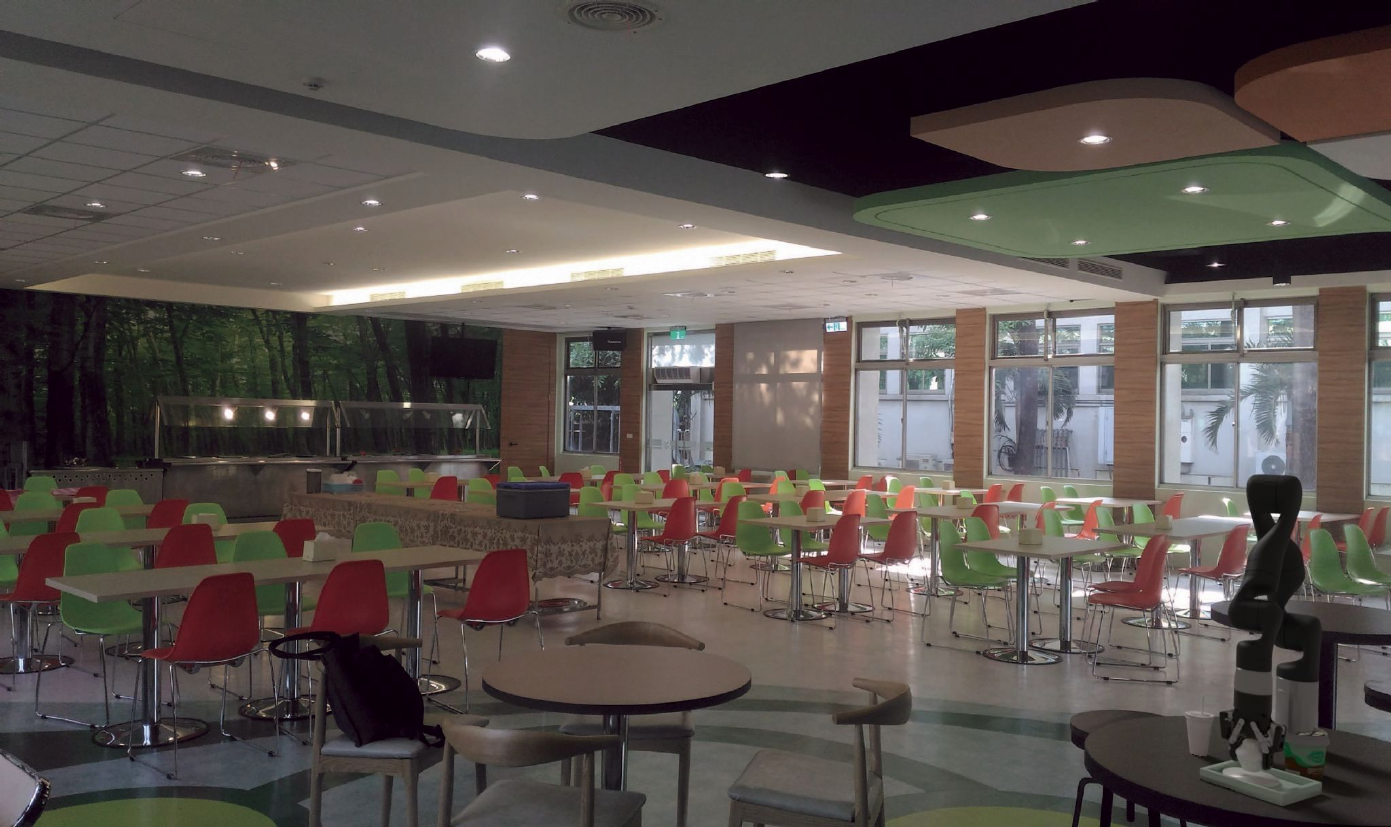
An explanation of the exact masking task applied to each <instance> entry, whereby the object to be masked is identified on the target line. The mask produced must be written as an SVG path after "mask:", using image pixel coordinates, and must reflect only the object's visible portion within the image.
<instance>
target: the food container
mask: <svg viewBox="0 0 1391 827" xmlns="http://www.w3.org/2000/svg"><path fill="white" fill-rule="evenodd" d="M1330 744H1331V741H1330V737H1329V735H1328V732H1326V731H1325V730H1323V729H1321V728H1319V727H1318V728H1315V727H1314V728H1313V731H1311V732H1298V733H1295V734H1290V733H1286V736H1285V743H1284V749H1283V751H1284V771H1285V772H1288V773H1291V774H1295V775H1298V776H1302V777H1305V778H1308V779H1312V780H1315V781H1321V780H1322V779H1323V778H1324V770H1325V763H1326V754H1327V747H1329V746H1330Z"/></svg>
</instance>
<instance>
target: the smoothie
mask: <svg viewBox="0 0 1391 827" xmlns="http://www.w3.org/2000/svg"><path fill="white" fill-rule="evenodd" d="M1200 698H1201V699H1200V710H1186V711H1185V714H1184V717H1185V718H1186V728H1187V736H1188V745H1189V747H1188V748H1189V754H1190V753H1191V755H1192V754H1194V755H1193V756H1195V755H1199V756H1198V757H1201V756H1205V757H1207V756H1208V752H1209V746H1210V739H1211V734H1212V733H1211V732H1212V727H1213V722H1214V721H1215V715H1214V714H1212V713H1209V712H1206V711H1204V710H1205V709H1204V705H1205V703H1204V701H1205V700H1204V699H1205V696H1204V695H1201V697H1200Z"/></svg>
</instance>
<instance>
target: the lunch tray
mask: <svg viewBox="0 0 1391 827" xmlns="http://www.w3.org/2000/svg"><path fill="white" fill-rule="evenodd" d="M1199 778H1201V779H1202V780H1206V781H1208V782H1207V783H1209V782H1212V783H1214V784H1213V785H1215V784H1218V785H1220V786H1219V787H1221V786H1224V787H1226V788H1225V789H1227V788H1230V789H1231V791H1233V790H1235V791H1234V792H1236V793H1240V794H1243V795H1246V796H1249V797H1252V798H1256V799H1259V800H1262V801H1265V802H1268V803H1271V804H1274V805H1277V806H1281V807H1284V806H1288V805H1291V804H1295V803H1297V802H1301V801H1304V800H1307V799H1310V798H1313V797H1317V796H1320V795H1322V791H1323V790H1322V788H1323V787H1322V786H1323V783H1322V781H1320V780H1312V779H1308V778H1305V777H1302V776H1298V775H1295V774H1291V773H1288V772H1285V770H1282V769H1281V770H1280V769H1277V768H1273V767H1272V768H1271V769H1270V770H1267V771H1266V770H1263V769H1262V768H1261V770H1260V771H1259V772H1248V771H1245V770H1243V768H1242V766H1241V764H1240V762H1239V761H1233V760H1232V759H1230V760H1227V761H1223V762H1220V763H1219V762H1218V763H1215V764H1212V765H1207V766H1204V767H1200V768H1199ZM1202 780H1201V781H1202ZM1206 781H1205V782H1206ZM1212 783H1211V784H1212ZM1218 785H1217V786H1218ZM1224 787H1223V788H1224ZM1230 789H1229V790H1230Z"/></svg>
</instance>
